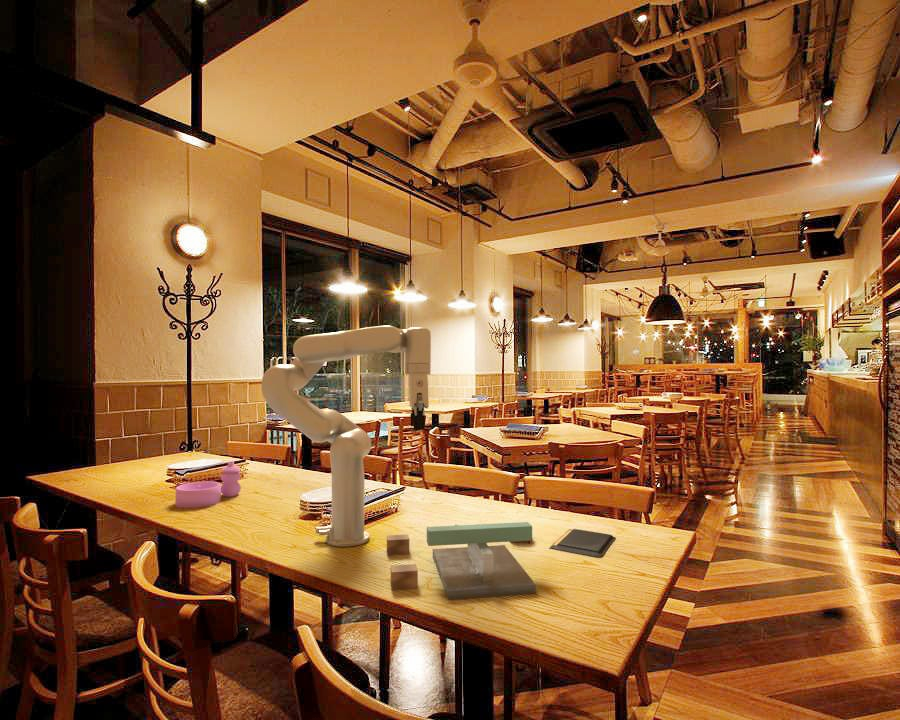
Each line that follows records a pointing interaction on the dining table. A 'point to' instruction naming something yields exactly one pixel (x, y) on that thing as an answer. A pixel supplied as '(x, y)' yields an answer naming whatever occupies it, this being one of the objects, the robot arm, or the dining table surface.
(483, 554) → the ridge stand
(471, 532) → the teal batten
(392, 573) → the batten rest
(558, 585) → the dining table surface
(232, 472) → the container set
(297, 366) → the robot arm
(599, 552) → the dark grey flat block
